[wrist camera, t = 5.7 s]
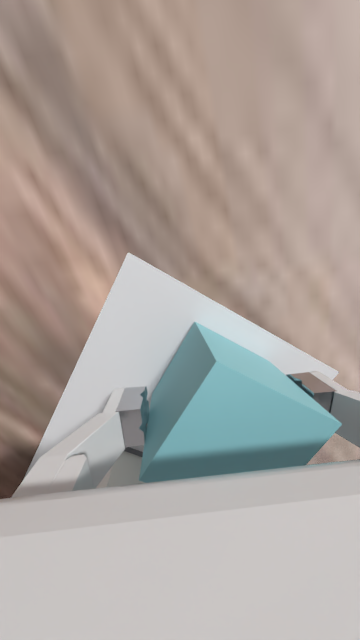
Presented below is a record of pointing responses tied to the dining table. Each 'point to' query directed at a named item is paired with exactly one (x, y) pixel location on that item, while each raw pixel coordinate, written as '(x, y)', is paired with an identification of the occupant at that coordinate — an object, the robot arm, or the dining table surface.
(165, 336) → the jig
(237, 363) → the stub
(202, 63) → the dining table surface
